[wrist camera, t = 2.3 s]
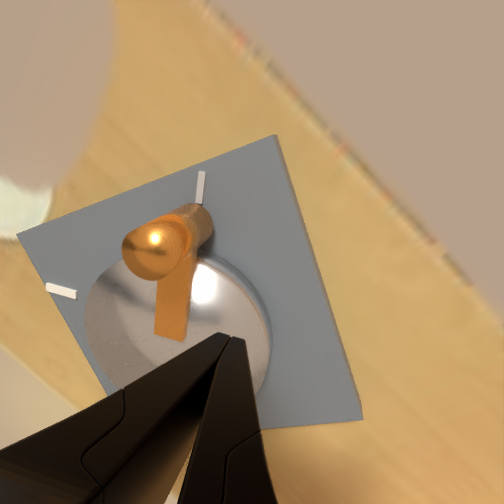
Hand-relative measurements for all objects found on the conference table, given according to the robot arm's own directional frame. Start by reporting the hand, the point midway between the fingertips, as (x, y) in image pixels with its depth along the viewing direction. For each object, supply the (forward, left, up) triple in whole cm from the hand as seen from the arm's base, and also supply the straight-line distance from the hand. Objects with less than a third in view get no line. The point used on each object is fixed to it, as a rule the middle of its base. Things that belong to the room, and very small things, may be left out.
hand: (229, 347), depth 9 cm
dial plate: (-8, -4, -12) cm, 15 cm away
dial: (-7, -3, -10) cm, 13 cm away
